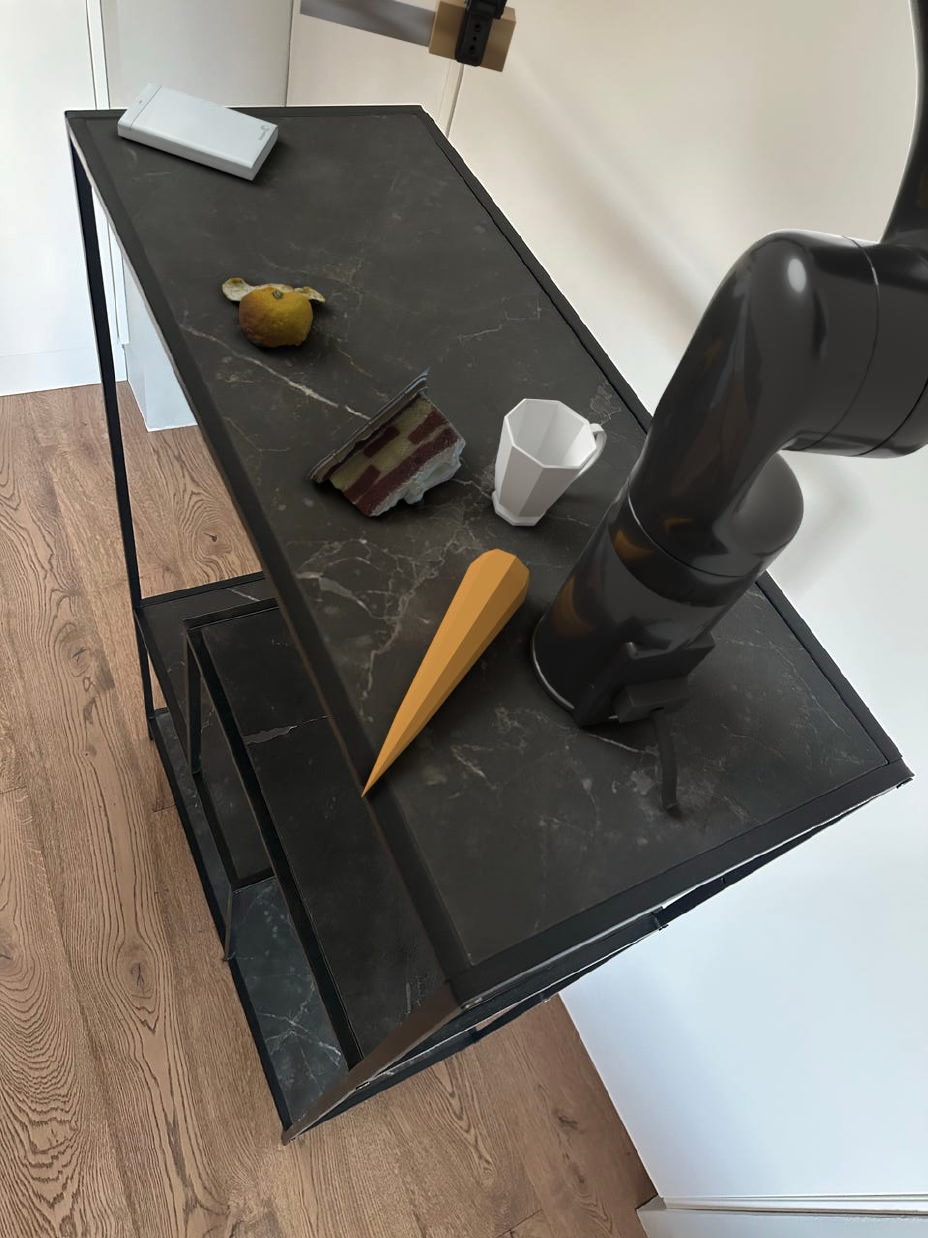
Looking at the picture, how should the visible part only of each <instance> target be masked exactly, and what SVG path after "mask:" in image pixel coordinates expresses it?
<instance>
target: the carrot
mask: <svg viewBox="0 0 928 1238" xmlns="http://www.w3.org/2000/svg"><path fill="white" fill-rule="evenodd" d="M464 574H465V575H464V577H463V578H462V581H461V583H460V585H459V586H458V588H457V590H456V593H455V594H454V597H453V599H452V601H451V603H450V605H449V607H448V609H447V611H446V613H445V615H444V617H443V619H442V622H441V623H440V625H439V627H438V630H437V632H436V633H435V634H434V635H435V636H434V637H433V640H432V642H431V644H430V646H429V647H428V649H427V652H426V654H425V656H424V658H423V660H422V662H421V664H420V666H419V668H418V670H417V672H416V673H415V676H414V678H413V680H412V682H411V684H410V686H409V688H408V690H407V692H406V694H405V696H404V699H403V701H402V702H401V705H400V707H399V709H398V711H397V713H396V715H395V716H394V717H395V718H394V720H393V722H392V724H391V727H390V729H389V731H388V734H387V736H386V738H385V740H384V743H383V745H382V747H381V750H380V752H379V755H378V757H377V759H376V762H375V764H374V766H373V768H372V771H371V773H370V775H369V778H368V780H367V783H366V785H365V787H364V790H363V792H362V794H361V797H363V796H365V794H366V793H367V792H368V791H369V790H370V789H371V787H372V786H373V785H374V784H375V783H376V782H377V781H378V780H379V778H380V777H381V776H382V775H383V774H384V773H385V772H386V771H387V770H388V768H389V767H390V766H391V765H392V764H393V763H394V762H395V760H396V759H397V758H398V757H399V756H400V755H401V753H403V751H404V750H405V749H406V748H407V747H408V746H409V745H410V743H412V741H413V740H414V739H415V738H416V737H417V736H418V735H419V733H420V732H422V730H423V729H424V728H425V726H426V725H427V723H429V721H430V720H431V719H432V717H433V716H434V715H435V714H436V712H437V711H438V710H439V709H440V707H441V706H442V705H443V704H444V702H445V701H446V699H447V698H448V697H449V696H450V695H451V693H453V691H454V690H455V688H456V687H457V686H458V685H459V684H460V682H461V681H462V680H463V679H464V677H465V676H466V675H467V674H468V672H469V671H470V670H471V668H472V667H473V666H474V665H475V663H476V662H477V661H478V659H479V658H480V657H481V656H482V655H483V653H484V652H485V651H486V650H487V648H488V647H489V646H490V645H491V643H492V642H493V641H494V639H495V638H496V637H497V636H498V634H500V632H501V631H502V629H504V627H505V625H506V624H507V623H508V622H509V621H510V619H511V618H512V617H513V616H514V614H515V613H516V612H517V610H518V609H519V608H520V606H521V605H522V604H523V603H524V602H525V599H526V595H527V592H528V587H529V583H530V570H529V569H528V568H527V566H526V565H525V564H524V563H523V562H522V561H521V560H520V559H519V558H518V557H517V555H515V554H513V553H509V552H507V551H505V550H502V549H499V548H495V549H492V550H489V551H485V552H483V553H481V555H479V557H477V558H476V559H475V560H474V561H472V562H471V563H470V565H469V566H468V568H467V570H466V573H464Z"/></svg>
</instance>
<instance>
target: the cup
mask: <svg viewBox="0 0 928 1238" xmlns="http://www.w3.org/2000/svg"><path fill="white" fill-rule="evenodd" d="M595 436H596V438H595ZM607 440H608V435H607V434H606V431H605V430H604V429H603V427H602V426H601V425H600V423H590V421H589V420H588V419H586V418H585V417H584V416H582V415H580V414H579V413H577V412H576V411H574V410H573V409H572V408H570V407H569V406H568V405H566V404H564V403H563V402H562V401H560V400H554V399H553V400H551V399H538V398H537V399H536V398H535V399H534V398H523V399H522V400H521V401H520V402H519V403H517V405H516V406H514V407H513V409H511V410H510V411H509V412H508V413H507V414H506V415H505V416H504V418H503V422H502V428H501V434H500V440H499V445H498V449H497V455H496V460H495V465H494V467H495V468H494V489H495V490H494V491H493V492H492V493H491V500H492V505H493V509H494V512H495V514H496V515H498V516H499V517H501V518H502V519H503V520H504V521H506V522H507V523H509V524H510V525H512V526H514V527H515V526H517V527H518V526H520V527H521V526H522V527H525V526H526V527H534V526H535V525H536V524H537V523H538V522H539V521H540V520H541V519H542V518H543V516H544V515H545V514H546V512H547V511H548V509H550V507H551V506H553V505H554V504H555V503H556V502H557V500H559V498H560V497H561V496H562V495H563V494H564V493H565V492H566V491H567V489H568V488H569V487H570V486H571V485H572V483H573V482H575V481H576V480H578V479H579V478H580V477H582V476H583V475H584V474H585V473H586V472H587V471H589V470H590V468H592V467H593V466H594V464H595V463H596V462H597V461H598V459H599V458H600V457H601V455H602V453H603V451H604V449H605V447H606V442H607Z"/></svg>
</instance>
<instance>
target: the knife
mask: <svg viewBox="0 0 928 1238" xmlns="http://www.w3.org/2000/svg"><path fill="white" fill-rule="evenodd" d="M299 3H300V5H299V14H300V15H304V16H308V17H311V18H315V19H318V20H322V21H327V22H330V23H333V24H337V25H341V26H345V27H350V28H352V29H356V30H361V31H363V32H368V33H372V34H375V35H379V36H382V37H383V36H384V37H386V38H391V39H394V40H399V41H402V42H405V43H410V44H414V45H418V46H421V47H425V48H428V54H430V55H434V56H438V57H441V58H445V59H449V60H452V61H456V60H455V54H454V51H455V47H456V42H457V38H458V34H459V29H460V25H461V21H462V16H463V12H464V5H465V4H464V0H436V1H435V6H434V9H433V8H429V7H425V6H421V5H418V4H414V3H410V2H407V1H403V0H300V2H299ZM516 25H517V16H516V9H515V7H510V6H507V5H505V8H504V13H503V15H502V16H501V19H500V20H497V19H493V22H492V26H491V30H490V34H489V38H488V41H487V45H486V49H485V53H484V57H483V61H482V64H481V65H480V66H478V67H480V68H483V69H486V70H487V69H488V70H492V71H496V72H498V73H503V71H504V68H505V65H506V62H507V61H506V60H507V57H508V55H509V54H508V53H509V50H510V46H511V42H512V39H513V36H514V32H515V28H516Z"/></svg>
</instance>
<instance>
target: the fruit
mask: <svg viewBox="0 0 928 1238" xmlns="http://www.w3.org/2000/svg"><path fill="white" fill-rule="evenodd" d="M221 289H222V292H223V294H224V295H225V297H226V298H227V299H228V300H229V301H235V302H236V301H237V302H239V307H238V311H239V313H238V323H239V325H240V330H241V331H242V332H243V334H244V336H245V337H246V339H247V340H248V341H249V342H251V343H252V344H253V345H254V346H256V347H264V348H265V347H269V348H277V347H278V346H285V345H287V346H291V345H295V346H297V347H299V346H300V345H301V344H302V342H303V341H305V340H307V337H308V334H309V333H310V329H311V326H312V322H313V319H314V316H313V309H312V303H311V302H310V301H309V300H318V301H319V302H320V303H318V304H315V305H314V307H316V306H320V305H323V304H325V303H326V299H325V297H324V296H323V295H322V294H321V293H320V292H318V291H317V290H315V289H313V288H312V287H309V286H303V287H297V288H293V287H292V286H290V285H287V284H284V283H271V282H270V283H266V284H259V285H257V286H256V285H255V286H252V285H249V283H246V282H245V281H244V279H243V278H241V277H230V278H229V279H228V280H226V281H225V282H224V283H223V284H222V285H221Z"/></svg>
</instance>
